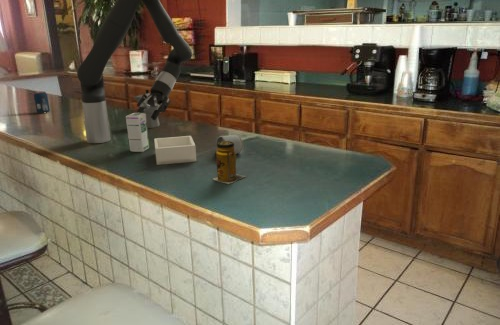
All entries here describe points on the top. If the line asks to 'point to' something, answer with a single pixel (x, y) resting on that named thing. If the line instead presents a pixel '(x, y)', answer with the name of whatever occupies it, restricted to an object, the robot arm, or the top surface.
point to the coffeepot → (149, 113)
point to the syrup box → (137, 132)
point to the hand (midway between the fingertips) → (145, 118)
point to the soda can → (41, 102)
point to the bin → (175, 150)
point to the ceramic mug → (232, 138)
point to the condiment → (226, 163)
